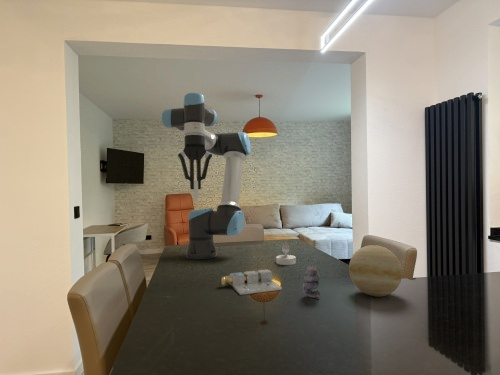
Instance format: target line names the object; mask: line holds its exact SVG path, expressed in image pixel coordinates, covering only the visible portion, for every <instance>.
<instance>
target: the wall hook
mask: <svg viewBox="0 0 500 375" xmlns="http://www.w3.org/2000/svg"><path fill="white" fill-rule="evenodd" d="M281 247H282V248H281V249H282V253H283V254H278V255H277V256H275V263H276V265H281V266H282V265H283V266H291V265H295V264H296V262H297V259H296V258H297V257H296V256H295V255H291V254H288V253H289V252H290V244H289V243H288V242H283V243H282V245H281Z"/></svg>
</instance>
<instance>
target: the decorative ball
mask: <svg viewBox="0 0 500 375" xmlns="http://www.w3.org/2000/svg"><path fill="white" fill-rule="evenodd" d="M348 272H349V277H350V279H351V281H352V283H353V285H354V286H355V287H356V289H358V290H359V291H360V292H362V293H363V294H365V295H368V296H370V297H371V296H372V297H386V296H388V295H391V294H392V293H393V292H395V291H396V290H397V289H398V288H399V287H400V284H401V282H402V278H403V268H402V264H401V262H400V259H399V258H398V256H396V254H395V253H394V252H392V250H390V249H388V248H387V247H384V246H381V245H376V244H375V245H374V244H370V245H366V246H363V247H360V248H359V249H357V251H355V252H354V253H353V254H352V256H351V258H350V261H349V264H348Z"/></svg>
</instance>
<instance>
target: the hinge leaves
mask: <svg viewBox="0 0 500 375" xmlns="http://www.w3.org/2000/svg"><path fill="white" fill-rule="evenodd" d="M259 274H260V276H261V280H258V275H259ZM244 276H247V281H246V282H244ZM223 277H225V278H232V283H228V284H229V285H230V286H231V288H233V290H235V291H236V292H237V293H238V294H239V296H242V295H244V296H245V295H250V294H259V293H266V292H272V291H273V292H274V291H281V290H282V286H281V285H279V284H277V283H276V282H275V281H273V272H272V271H271V270H270V269H260V270H250V271H247V270H246V271H243V272H241V271H240V272H238V271H237V272H231V273H229V275H223Z"/></svg>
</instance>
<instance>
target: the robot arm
mask: <svg viewBox="0 0 500 375" xmlns="http://www.w3.org/2000/svg"><path fill="white" fill-rule="evenodd" d="M205 102H206V101H205V96H204V95H203V94H202V93H199V92H188V93H186V94H185V95H184V96H183V107H179V108H177V107H176V108H169V109H164V110H163V112H162V113H161V122H162V124H163V125H164V127H166V128H171V129H173V128H175V129H177V130H178V131H179V132H181V133H183V134H184V135H185V136H184V148H183V150H182V152H180V153H178V154H177V157H178V159H179V160H180V165H181V167H182V172H183V176H184V179H185V180H187V181H189V185H190V186H189V188H190V190H192V198H193V199H199V190H201V188H202V181H203V180H205V179H206V178H207V173H208V169H209V164H210V161H211V159H212V157H213V155H215V156H220V157H221V156H223V158H224V159H225V166H224V167H225V168H224V173H223V174H224V175H223V183H222V189H221V190H222V191H221V192H222V193H221V198H220V199H221V200H220V201H221V202H220V203H219V204H218V205H217V206H216V210H214V208H212V207H208V208H201V209H194V210H190V212H188V244H187V247H186V250H185V258H186V259H188V260H207V259H209V260H210V259H213V258H216V257H217V256H218V250H217V247H216V244H215V240H214V236H229V237H231V236H239V235H240V234H241V233H242V231H243V229H244V226H245V213H244V212H243V211H242V207H241V206H240V205H239V203H240V202H239V201H240V196H241V195H240V193H241V183H242V182H241V181H242V173H243V172H242V171H243V164H244V161H245V160H247V156H248V155H250V154H251V152H252V151H251V150H252V147H251V141H250V138H249V135H248V134H247V133H246V132H244V131H243V132H242V131H238V132H227V133H226V132H225V133H221V132H220V133H213V132H211V131H208V130H206V129H205V127H207V128H208V127H213V126H214V125H216V123H217V121H218V114H217V112H216V111H215V109H213V108H212V107H211V106H209V105H207V104H205ZM185 156H186V158H187V159H188V160H189V171H188V167H187V164H186V161H185ZM203 157H204V158H205V160H204V164H203V169H201V168H202V166H201V165H202V164H201V163H202V159H203ZM195 163H196V165H195ZM195 166H196V180H195Z"/></svg>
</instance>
